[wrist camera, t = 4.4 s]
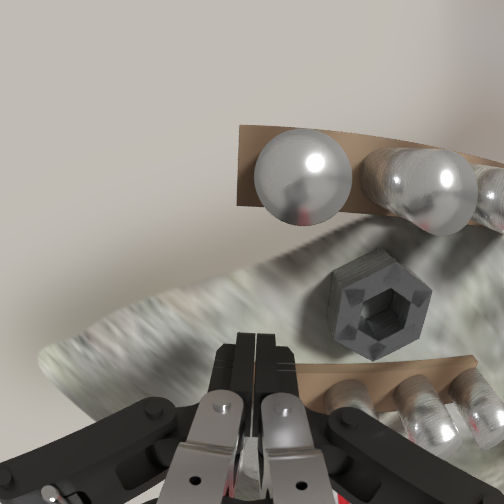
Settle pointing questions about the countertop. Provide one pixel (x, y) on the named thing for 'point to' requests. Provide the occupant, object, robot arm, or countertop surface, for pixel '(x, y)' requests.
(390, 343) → the nut
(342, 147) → the vanity light bulbs
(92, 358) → the countertop surface
